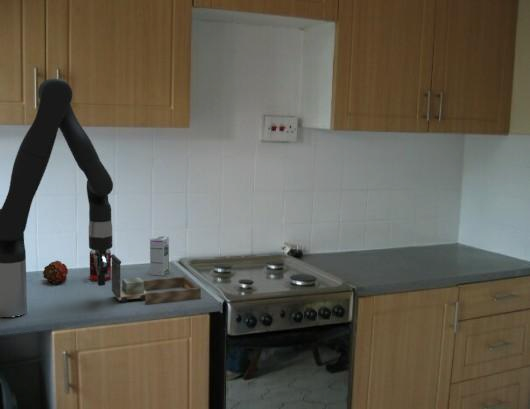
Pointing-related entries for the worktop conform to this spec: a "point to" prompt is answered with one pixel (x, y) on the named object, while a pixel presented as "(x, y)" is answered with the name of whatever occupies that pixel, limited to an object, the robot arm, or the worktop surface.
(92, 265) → the canned food
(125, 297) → the grey l-shaped piece
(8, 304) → the robot arm
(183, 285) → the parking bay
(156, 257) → the syrup box
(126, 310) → the worktop surface
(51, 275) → the dragon fruit
